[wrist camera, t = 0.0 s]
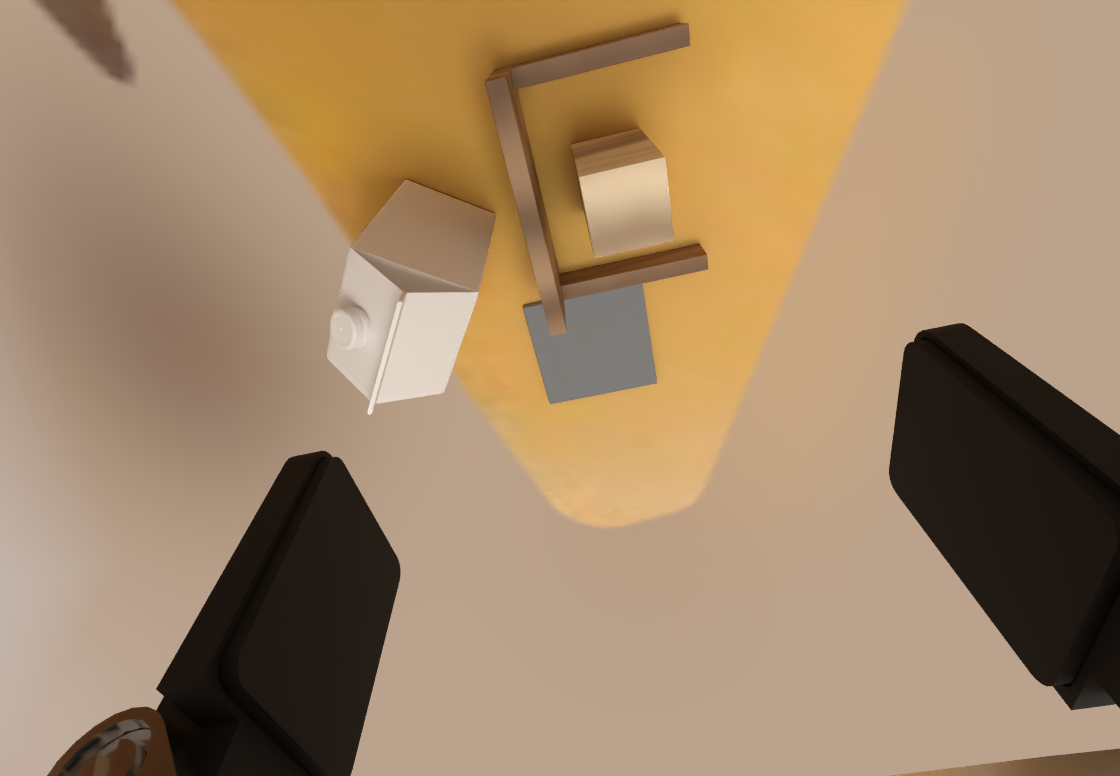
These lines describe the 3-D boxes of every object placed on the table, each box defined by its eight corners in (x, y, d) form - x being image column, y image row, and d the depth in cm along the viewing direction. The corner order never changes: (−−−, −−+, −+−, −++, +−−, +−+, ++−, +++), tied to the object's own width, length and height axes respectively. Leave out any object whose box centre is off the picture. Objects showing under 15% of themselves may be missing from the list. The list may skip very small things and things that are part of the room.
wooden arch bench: (494, 70, 39) (484, 82, 32) (680, 23, 37) (710, 24, 31) (549, 290, 47) (550, 335, 41) (700, 257, 46) (727, 298, 39)
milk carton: (496, 213, 44) (472, 325, 28) (469, 293, 47) (433, 433, 31) (405, 177, 42) (323, 275, 26) (384, 263, 46) (300, 395, 30)
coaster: (523, 305, 48) (523, 308, 48) (640, 280, 47) (642, 282, 47) (549, 400, 53) (550, 404, 53) (655, 379, 52) (656, 383, 52)
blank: (571, 144, 41) (578, 177, 33) (639, 127, 41) (664, 157, 32) (584, 212, 44) (594, 258, 36) (648, 197, 43) (674, 240, 35)
